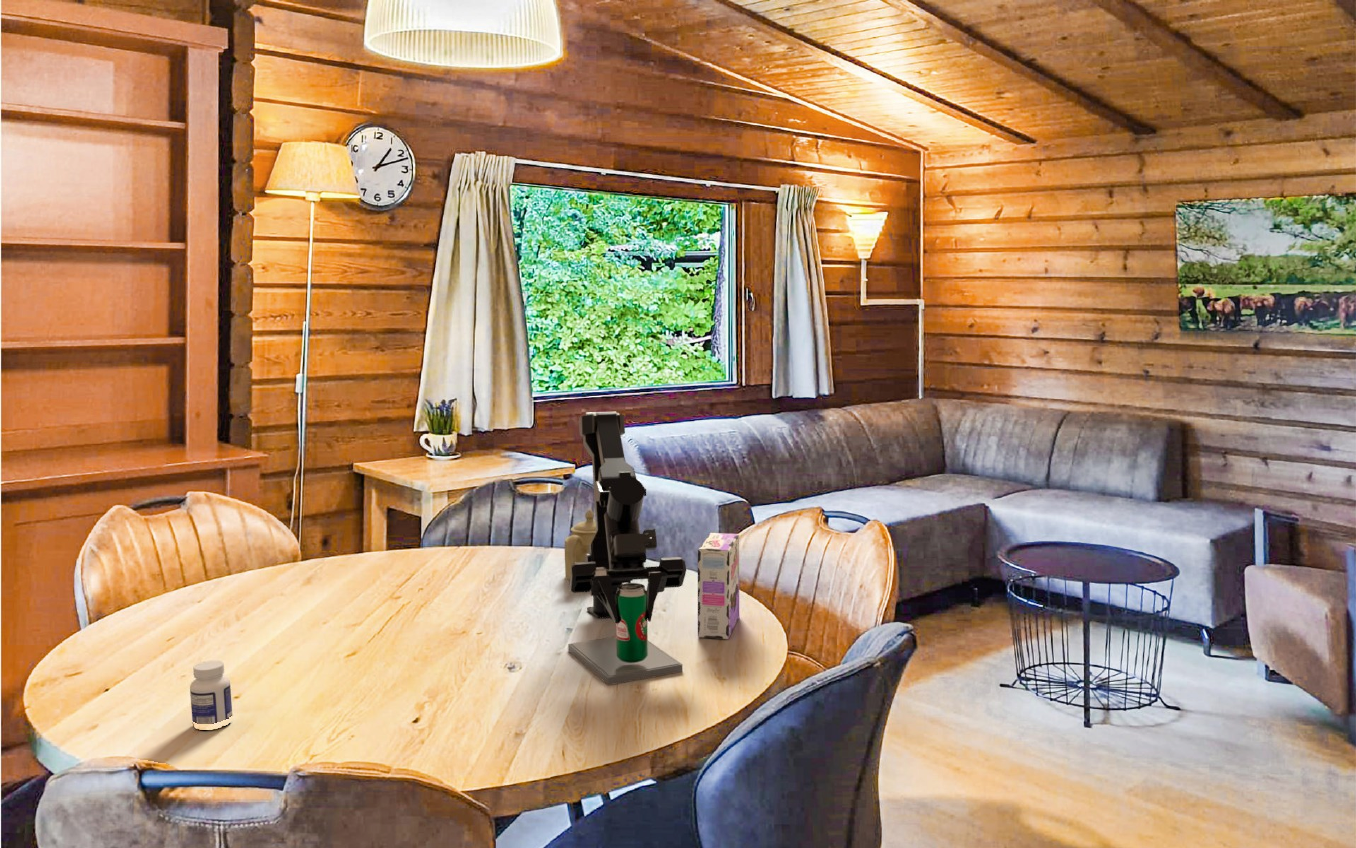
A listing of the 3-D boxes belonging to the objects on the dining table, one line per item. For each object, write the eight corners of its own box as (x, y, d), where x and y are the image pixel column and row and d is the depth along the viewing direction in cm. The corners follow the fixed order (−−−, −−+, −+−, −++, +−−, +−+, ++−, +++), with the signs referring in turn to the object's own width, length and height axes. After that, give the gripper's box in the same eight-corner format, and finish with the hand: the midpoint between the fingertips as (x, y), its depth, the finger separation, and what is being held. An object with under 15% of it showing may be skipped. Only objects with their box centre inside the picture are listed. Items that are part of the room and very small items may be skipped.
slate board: (568, 650, 181) (568, 643, 180) (637, 639, 186) (637, 632, 186) (608, 685, 165) (608, 677, 164) (682, 671, 170) (682, 663, 170)
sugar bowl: (619, 587, 220) (618, 517, 218) (566, 589, 218) (564, 519, 216) (614, 569, 234) (613, 503, 232) (564, 571, 233) (563, 504, 231)
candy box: (729, 640, 186) (729, 549, 184) (696, 638, 187) (696, 548, 185) (740, 617, 199) (740, 532, 197) (709, 615, 200) (709, 531, 198)
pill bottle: (219, 714, 154) (215, 656, 153) (240, 722, 151) (236, 663, 150) (184, 726, 150) (181, 666, 149) (205, 735, 147) (201, 674, 146)
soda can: (612, 655, 171) (611, 584, 169) (640, 651, 173) (640, 580, 171) (623, 666, 166) (622, 592, 165) (652, 661, 168) (652, 588, 167)
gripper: (570, 514, 169) (577, 601, 159) (684, 509, 172) (697, 594, 163) (567, 549, 177) (573, 634, 168) (675, 544, 181) (687, 626, 172)
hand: (633, 621), depth 167 cm, fingers closed on soda can, 5 cm apart
